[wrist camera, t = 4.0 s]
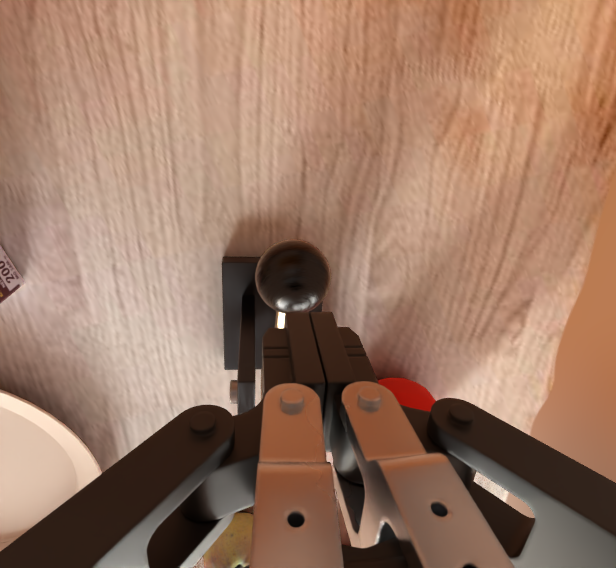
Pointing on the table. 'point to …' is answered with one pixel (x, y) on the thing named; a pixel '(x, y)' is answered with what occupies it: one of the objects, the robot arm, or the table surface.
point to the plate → (37, 465)
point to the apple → (232, 544)
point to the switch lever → (292, 278)
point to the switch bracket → (244, 327)
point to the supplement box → (8, 276)
